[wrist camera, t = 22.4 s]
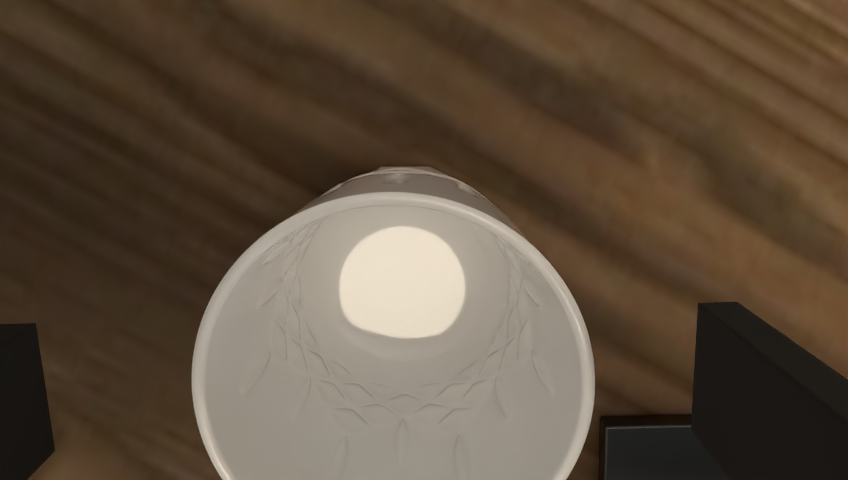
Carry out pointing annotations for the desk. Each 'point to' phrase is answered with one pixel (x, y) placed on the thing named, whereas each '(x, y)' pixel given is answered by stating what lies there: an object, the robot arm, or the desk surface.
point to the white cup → (393, 344)
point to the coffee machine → (653, 450)
